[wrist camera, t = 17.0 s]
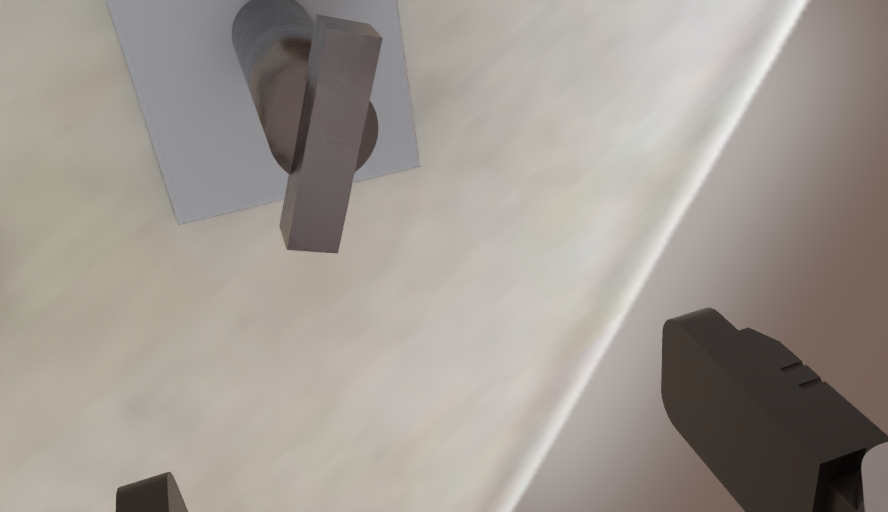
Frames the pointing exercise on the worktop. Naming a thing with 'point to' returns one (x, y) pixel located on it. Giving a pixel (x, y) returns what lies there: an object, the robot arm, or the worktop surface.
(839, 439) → the robot arm
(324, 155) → the chuck key
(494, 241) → the worktop surface
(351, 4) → the mat
